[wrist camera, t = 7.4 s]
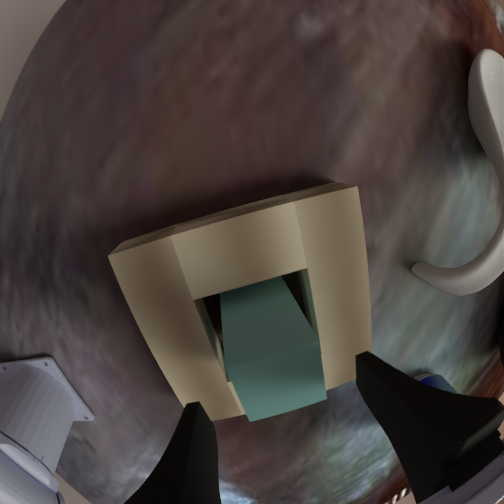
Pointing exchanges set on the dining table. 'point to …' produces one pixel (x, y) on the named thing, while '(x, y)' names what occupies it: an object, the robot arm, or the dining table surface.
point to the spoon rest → (500, 154)
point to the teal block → (270, 350)
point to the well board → (245, 273)
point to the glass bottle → (502, 341)
